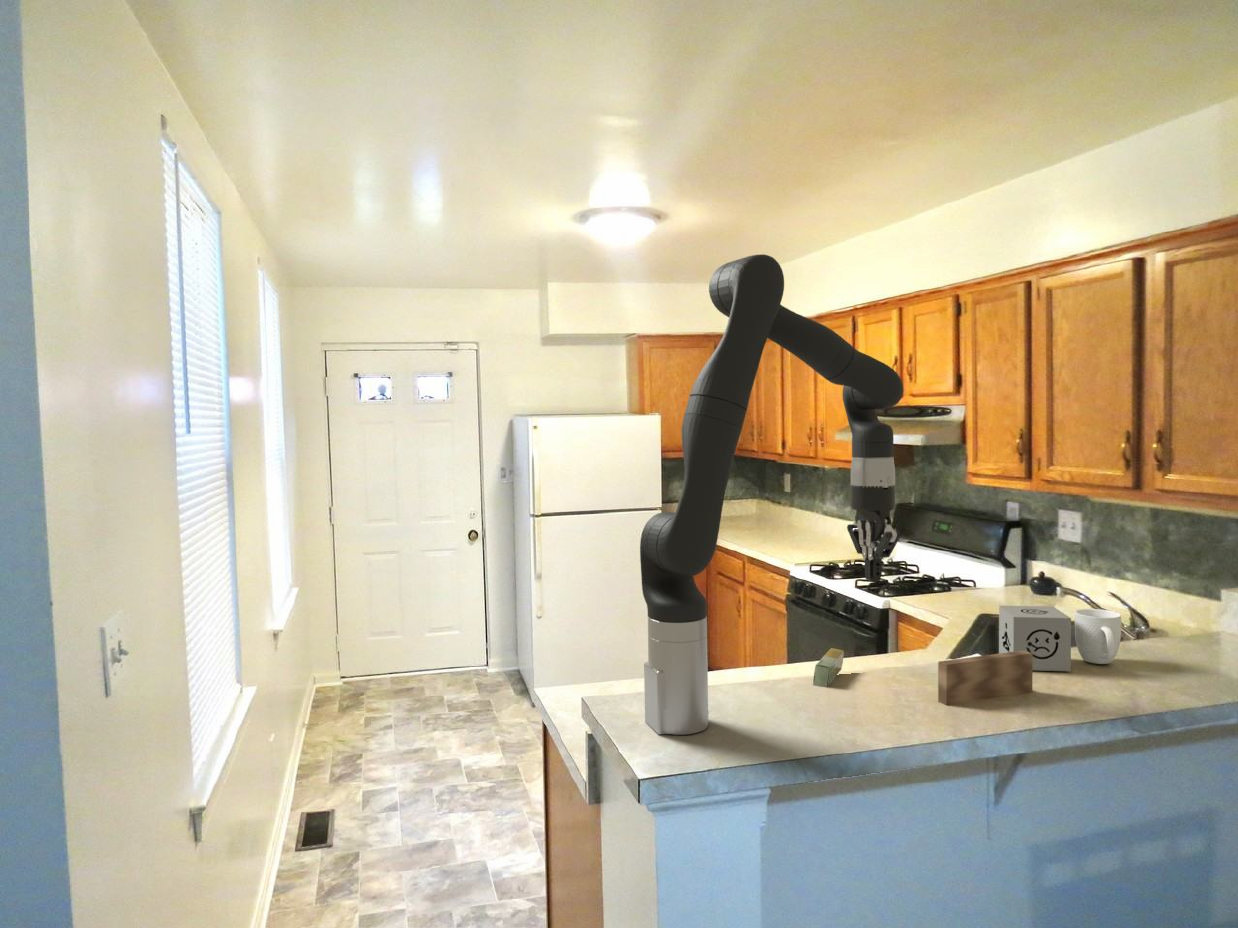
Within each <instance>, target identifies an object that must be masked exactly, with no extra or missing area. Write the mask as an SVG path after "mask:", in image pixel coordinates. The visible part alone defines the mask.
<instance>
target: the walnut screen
mask: <svg viewBox="0 0 1238 928" xmlns="http://www.w3.org/2000/svg"><path fill="white" fill-rule="evenodd" d="M937 665H938V666H937V669H938V670H937V672H938V673H937V675H938V676H937V678H938V679H937V680H938V681H937V683H938V684H937V689H938V691H937V693H938V694H937V701H938V703H941V705H942V704H943V705H944V706H951V705H952V706H953V705H959V704H965V703H972V702H979V701H985V700H990V699H997V698H999V699H1000V698H1005V697H1010V696H1017V695H1024V694H1031V693H1033V670H1032V669H1033V653H1030V652H1027V651H1024V650H1023V651H1015V652H1008V653H1000V654H999V653H994V654H986V655H978V656H971V657H964V658H955V659H947V660H941V661H940V660H939V661H937Z"/></svg>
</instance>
